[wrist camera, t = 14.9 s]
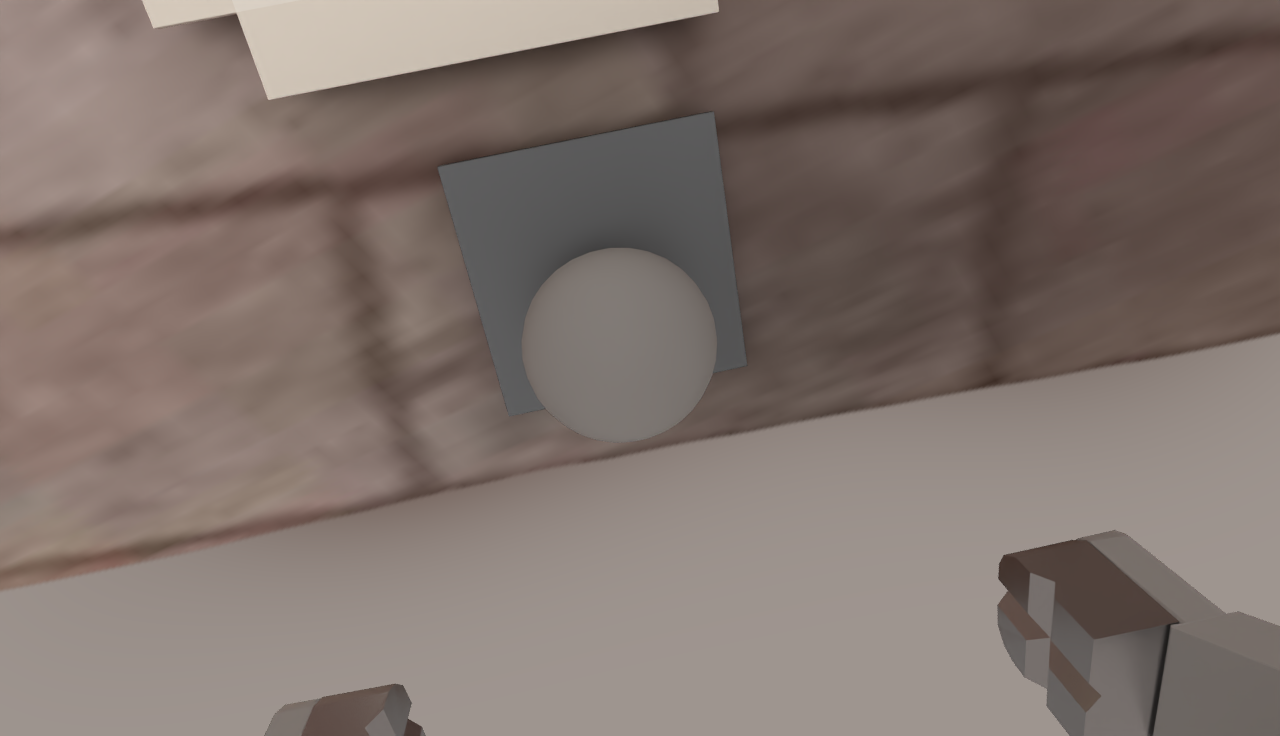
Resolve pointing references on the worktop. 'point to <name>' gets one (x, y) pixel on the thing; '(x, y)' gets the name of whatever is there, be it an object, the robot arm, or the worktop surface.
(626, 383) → the lightbulb
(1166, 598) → the robot arm
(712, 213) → the mat
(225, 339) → the worktop surface
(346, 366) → the worktop surface
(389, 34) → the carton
